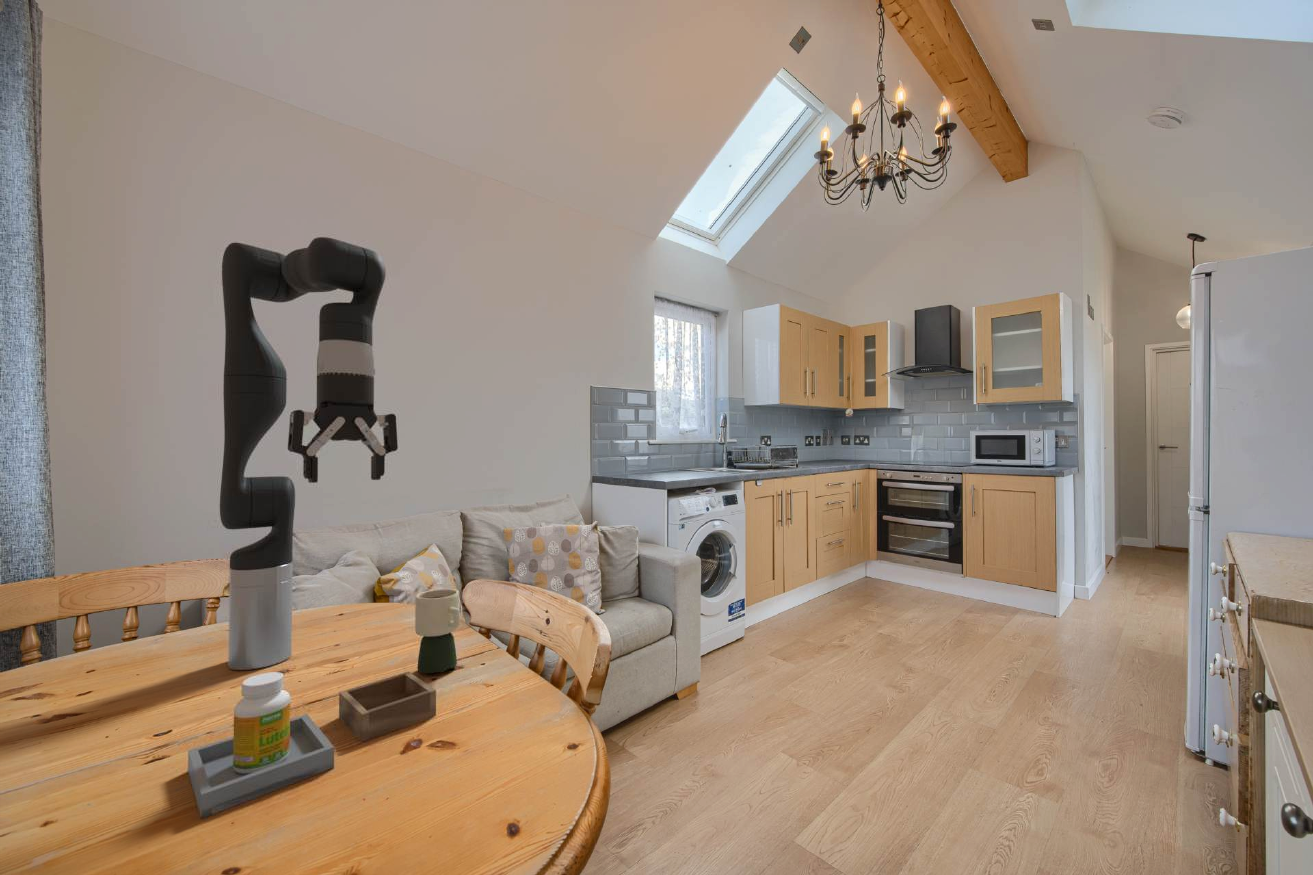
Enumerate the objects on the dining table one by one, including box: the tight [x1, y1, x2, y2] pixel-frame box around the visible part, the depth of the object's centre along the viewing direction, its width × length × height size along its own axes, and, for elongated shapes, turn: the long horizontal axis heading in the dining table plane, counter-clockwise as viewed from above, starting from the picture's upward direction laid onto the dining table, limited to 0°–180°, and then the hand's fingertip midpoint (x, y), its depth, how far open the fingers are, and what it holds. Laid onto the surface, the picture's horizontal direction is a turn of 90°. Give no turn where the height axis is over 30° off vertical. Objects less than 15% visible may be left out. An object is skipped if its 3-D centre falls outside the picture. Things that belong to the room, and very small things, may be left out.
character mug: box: [414, 588, 461, 674], centre depth 92 cm, size 11×7×13 cm, turn 59°
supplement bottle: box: [233, 671, 291, 774], centre depth 63 cm, size 5×5×10 cm
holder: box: [338, 671, 437, 743], centre depth 76 cm, size 10×10×4 cm
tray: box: [187, 713, 335, 819], centre depth 63 cm, size 12×12×2 cm
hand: (345, 481), depth 81 cm, fingers open, 8 cm apart
